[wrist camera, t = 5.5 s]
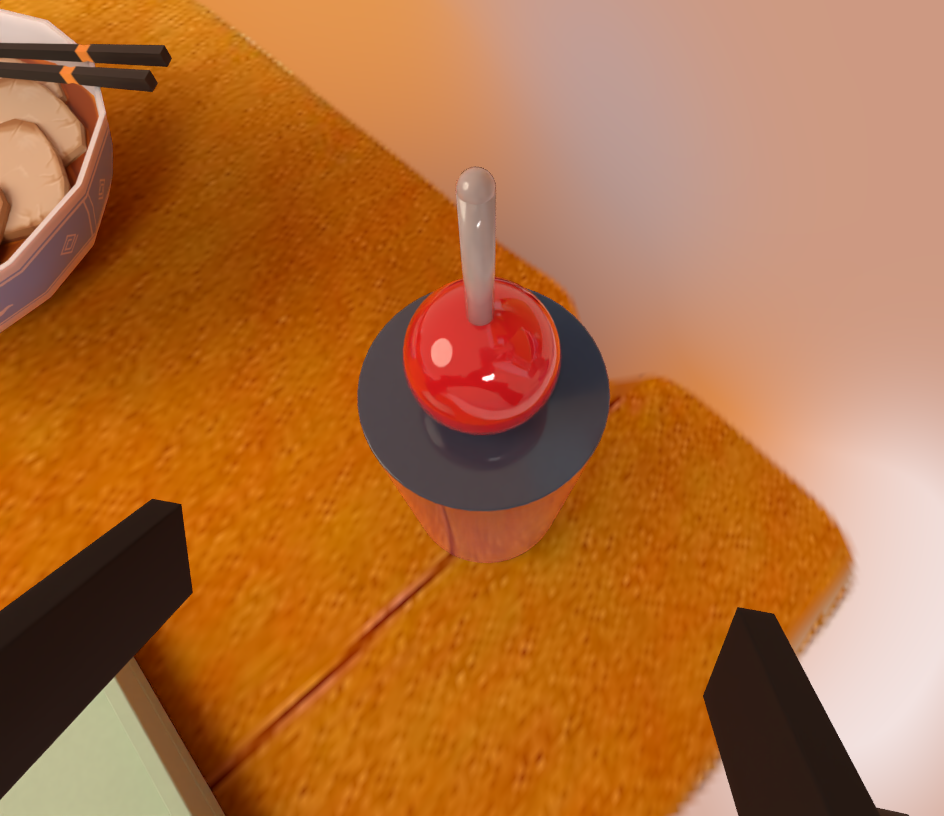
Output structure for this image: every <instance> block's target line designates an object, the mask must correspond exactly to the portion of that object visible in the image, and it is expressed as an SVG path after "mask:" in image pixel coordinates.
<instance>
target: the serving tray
mask: <svg viewBox="0 0 944 816" xmlns="http://www.w3.org/2000/svg"><path fill="white" fill-rule="evenodd" d="M0 816H225V814H224V812H223V811H222V809H221V807H220V805H219V804H218V802H217V800H216V799H215V797H214V795H213V793H212V792H211V790H210V788H209V786H208V785H207V783H206V781H205V779H204V778H203V776H202V774H201V773H200V771H199V769H198V767H197V766H196V764H195V762H194V760H193V759H192V757H191V755H190V754H189V752H188V750H187V748H186V747H185V745H184V743H183V741H182V740H181V738H180V736H179V734H178V733H177V731H176V729H175V728H174V726H173V724H172V722H171V721H170V719H169V717H168V715H167V714H166V712H165V710H164V709H163V707H162V705H161V703H160V702H159V700H158V698H157V696H156V695H155V693H154V691H153V689H152V688H151V686H150V684H149V683H148V681H147V679H146V677H145V676H144V674H143V672H142V670H141V669H140V667H139V665H138V663H137V662H136V660H135V658H134V657H132V659H131V660H130V661H129V662H128V663H127V664H126V665H125V666H124V667H123V668H122V669H121V670H120V671H119V673H118V674H117V675H116V676H115V677H114V678H113V679H112V680H111V681H110V682H109V683H108V684H107V686H106V687H105V688H104V689H103V690H102V691H101V692H100V693H99V694H98V695H97V696H96V697H95V698H94V700H93V701H92V702H91V703H90V704H89V705H88V706H87V707H86V708H85V709H84V710H83V711H82V712H81V714H80V715H79V716H78V717H77V718H76V719H75V720H74V721H73V722H72V723H71V724H70V725H69V726H68V728H67V729H66V730H65V731H64V732H63V733H62V734H61V735H60V736H59V737H58V738H57V739H56V740H55V742H54V743H53V744H52V745H51V746H50V747H49V748H48V749H47V750H46V751H45V752H44V753H43V754H42V756H41V757H40V758H39V759H38V760H37V761H36V762H35V763H34V764H33V765H32V766H31V767H30V768H29V770H28V771H27V772H26V773H25V774H24V775H23V776H22V777H21V778H20V779H19V780H18V781H17V782H16V784H15V785H14V786H13V787H12V788H11V789H10V790H9V791H8V792H7V793H6V794H5V795H4V796H3V798H2V799H1V800H0Z"/></svg>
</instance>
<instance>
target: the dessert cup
mask: <svg viewBox="0 0 944 816" xmlns="http://www.w3.org/2000/svg"><path fill="white" fill-rule="evenodd" d="M456 200H457V212H458V224H459V237H460V249H461V262H462V274H463V278H460V279H457V280H454V281H452V282H450V283H447V284H445V285H444V286H442V287H440V288H439V289H437V290H435V291H434V292H432V293H429V294H427V295H425V296H423V297H421V298H419V299H417V300H416V301H414V302H412V303H411V304H409V305H408V306H406V307H405V308H404V309H402V310H401V311H400V312H399V313H397V314H396V315H395V316H394V317H393V318H392V319H391V320H390V321H389V322H388V323H387V324H386V325H385V326H384V328H383V329H382V330H381V331H380V333H379V334H378V335H377V337H376V338H375V340H374V342H373V343H372V345H371V347H370V348H369V351H368V353H367V355H366V358H365V360H364V362H363V366H362V369H361V373H360V377H359V384H358V391H357V395H358V412H359V418H360V423H361V426H362V429H363V433H364V436H365V438H366V440H367V442H368V444H369V446H370V449H371V451H372V452H373V454H374V455H375V457H376V458H377V460H378V461H379V462H380V464H381V465H382V467H383V468H384V470H385V471H386V473H387V474H388V476H389V477H390V479H391V480H392V482H393V483H394V485H395V486H396V488H397V489H398V491H399V492H400V494H401V495H402V497H403V498H404V500H405V501H406V503H407V504H408V506H409V507H410V509H411V510H412V511H413V513H414V514H415V516H416V517H417V519H418V520H419V522H420V523H421V525H422V526H423V528H424V529H425V531H426V532H427V534H428V535H429V536H430V537H431V538H432V540H433V541H434V542H435V543H436V544H438V545H439V546H440V547H441V548H442V549H444V550H446V551H447V552H449V553H450V554H452V555H454V556H457V557H459V558H461V559H465V560H468V561H473V562H479V563H493V562H501V561H505V560H509V559H512V558H514V557H517V556H519V555H521V554H523V553H524V552H526V551H528V550H529V549H530V548H532V547H533V546H534V545H536V544H537V543H538V542H539V541H540V540H541V539H542V538H543V536H544V535H545V534H546V532H547V531H548V530H549V528H550V526H551V524H552V523H553V521H554V519H555V518H556V516H557V514H558V513H559V511H560V509H561V507H562V506H563V504H564V502H565V501H566V499H567V497H568V495H569V494H570V492H571V490H572V489H573V487H574V485H575V484H576V482H577V480H578V478H579V477H580V475H581V473H582V472H583V470H584V468H585V466H586V465H587V463H588V461H589V460H590V458H591V456H592V454H593V453H594V451H595V449H596V447H597V445H598V444H599V442H600V440H601V437H602V434H603V432H604V429H605V426H606V422H607V418H608V413H609V403H610V389H609V379H608V375H607V370H606V366H605V363H604V361H603V358H602V355H601V353H600V351H599V349H598V347H597V345H596V343H595V341H594V340H593V338H592V337H591V335H590V334H589V333H588V331H587V330H586V328H585V327H584V326H583V325H582V324H581V323H580V322H579V321H578V320H577V319H576V317H575V316H574V315H572V314H571V313H570V312H569V311H567V310H566V309H565V308H564V307H563V306H561V305H559V304H558V303H556V302H555V301H553V300H552V299H550V298H548V297H546V296H544V295H542V294H540V293H538V292H535V291H532V290H529V289H526V288H524V287H522V286H520V285H518V284H516V283H514V282H512V281H510V280H507V279H504V278H500V277H495V231H496V230H495V229H496V185H495V181H494V178H493V176H492V175H491V174H490V173H489V172H488V171H487V170H485V169H484V168H481V167H471V168H468V169H466V170H465V171H463V172H462V173H461V175H460V176H459V178H458V180H457V183H456Z"/></svg>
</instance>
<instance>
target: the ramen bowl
mask: <svg viewBox="0 0 944 816" xmlns="http://www.w3.org/2000/svg"><path fill="white" fill-rule="evenodd" d="M171 59H172V58H171V56H170V54H169V53H168V51H167V49H166V47H165V46H164V45H110V44H90V45H86V46H85V45H81V44H77V43H75V42H74V41H73V40H72V39H70V38H69V37H68V36H67V35H65V34H64V33H63V32H62V31H61V30H59V29H58V28H57V27H56V26H54V25H53V24H52V23H51V22H49V21H48V20H44V19H40V18H36V17H32V16H28V15H24V14H20V13H15V12H11V11H7V10H3V9H0V333H1V332H2V331H4V330H5V329H6V328H8V327H9V326H11V325H12V324H14V323H15V322H16V321H18V320H19V319H21V318H22V317H24V316H25V315H26V314H28V313H29V312H31V311H32V310H34V309H35V308H36V307H38V306H39V305H41V304H42V303H44V302H45V301H46V300H48V299H49V298H51V297H52V295H53V294H54V293H55V292H56V291H57V289H58V288H59V287H60V286H61V284H62V283H63V282H64V281H65V280H66V278H67V277H68V276H69V275H70V273H71V272H72V271H73V270H74V269H75V267H76V266H77V265H78V264H79V262H80V261H81V260H82V259H83V258H84V256H85V255H86V254H87V253H88V252H89V250H90V249H91V248H92V247H93V245H94V242H95V239H96V236H97V233H98V229H99V226H100V223H101V220H102V217H103V213H104V210H105V207H106V204H107V200H108V197H109V193H110V187H111V182H112V176H113V144H112V139H111V135H110V130H109V125H108V121H107V116H106V111H105V107H104V103H103V98H102V94H101V90H100V87H106V88H117V89H127V90H138V91H148V92H153V90H154V89H155V87H156V85H157V84H158V83H157V81H156V79H155V78H154V76H153V75H152V73H151V71H150V70H135V69H118V68H100V67H95V64H94V63H107V64H126V65H144V66H163V67H168V65H169V63H170V61H171Z"/></svg>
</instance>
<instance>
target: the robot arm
mask: <svg viewBox="0 0 944 816" xmlns="http://www.w3.org/2000/svg"><path fill="white" fill-rule="evenodd" d="M192 593H193V591H192V584H191V576H190V568H189V560H188V553H187V545H186V537H185V530H184V522H183V514H182V506H181V504H177V503H172V502H166V501H161V500H155V499H151V500H150V501H149V502H147V503H146V504H145V505H143V506H142V507H141V508H139V509H138V510H137V511H135V512H134V513H132V514H131V515H130V516H128V517H127V518H126V519H124V520H123V521H122V522H120V523H119V524H118V525H116V526H115V527H113V528H112V529H111V530H109V531H108V532H107V533H105V534H104V535H103V536H101V537H100V538H99V539H97V540H96V541H95V542H93V543H92V544H90V545H89V546H88V547H86V548H85V549H84V550H82V551H81V552H80V553H78V554H77V555H76V556H74V557H73V558H71V559H70V560H69V561H67V562H66V563H65V564H63V565H62V566H61V567H59V568H58V569H57V570H55V571H54V572H53V573H51V574H50V575H48V576H47V577H46V578H44V579H43V580H42V581H40V582H39V583H38V584H36V585H35V586H34V587H32V588H31V589H29V590H28V591H27V592H25V593H24V594H23V595H21V596H20V597H19V598H17V599H16V600H15V601H13V602H12V603H10V604H9V605H8V606H6V607H5V608H4V609H2V610H1V611H0V800H1V799H2V798H3V796H4V795H5V794H6V793H7V792H8V791H9V790H10V789H11V788H12V787H13V786H14V785H15V784H16V782H17V781H18V780H19V779H20V778H21V777H22V776H23V775H24V774H25V773H26V772H27V771H28V770H29V768H30V767H31V766H32V765H33V764H34V763H35V762H36V761H37V760H38V759H39V758H40V757H41V756H42V754H43V753H44V752H45V751H46V750H47V749H48V748H49V747H50V746H51V745H52V744H53V743H54V742H55V740H56V739H57V738H58V737H59V736H60V735H61V734H62V733H63V732H64V731H65V730H66V729H67V728H68V726H69V725H70V724H71V723H72V722H73V721H74V720H75V719H76V718H77V717H78V716H79V715H80V714H81V712H82V711H83V710H84V709H85V708H86V707H87V706H88V705H89V704H90V703H91V702H92V701H93V700H94V698H95V697H96V696H97V695H98V694H99V693H100V692H101V691H102V690H103V689H104V688H105V687H106V686H107V684H108V683H109V682H110V681H111V680H112V679H113V678H114V677H115V676H116V675H117V674H118V673H119V671H120V670H121V669H122V668H123V667H124V666H125V665H126V664H127V663H128V662H129V661H130V660H131V659H132V657H133V656H134V655H135V654H136V653H137V652H138V651H139V650H140V649H141V648H142V647H143V646H144V645H145V643H146V642H147V641H148V640H149V639H150V638H151V637H152V636H153V635H154V634H155V633H156V632H157V631H158V629H159V628H160V627H161V626H162V625H163V624H164V623H165V622H166V621H167V620H168V619H169V618H170V617H171V615H172V614H173V613H174V612H175V611H176V610H177V609H178V608H179V607H180V606H181V605H182V604H183V603H184V601H185V600H186V599H187V598H188V597H189V596H190V595H191V594H192ZM703 698H704V701H705V704H706V708H707V711H708V714H709V718H710V721H711V725H712V728H713V731H714V735H715V738H716V742H717V745H718V748H719V752H720V755H721V758H722V762H723V765H724V769H725V772H726V775H727V779H728V782H729V785H730V789H731V792H732V795H733V799H734V802H735V806H736V809H737V812H738V815H739V816H909V815H907V814H904V813H899V812H894V811H890V810H885V809H880V808H876V807H875V805H874V803H873V801H872V799H871V797H870V795H869V793H868V791H867V790H866V787H865V786H864V784H863V782H862V780H861V778H860V776H859V774H858V773H857V770H856V768H855V767H854V765H853V763H852V761H851V759H850V757H849V755H848V753H847V752H846V750H845V748H844V746H843V744H842V742H841V740H840V738H839V736H838V734H837V733H836V731H835V729H834V727H833V725H832V723H831V721H830V719H829V718H828V715H827V714H826V712H825V710H824V708H823V706H822V704H821V702H820V700H819V698H818V697H817V694H816V693H815V691H814V689H813V687H812V685H811V683H810V681H809V680H808V677H807V676H806V674H805V672H804V670H803V668H802V666H801V664H800V662H799V660H798V658H797V656H796V655H795V653H794V651H793V649H792V647H791V645H790V643H789V641H788V639H787V637H786V636H785V634H784V632H783V630H782V628H781V626H780V624H779V622H778V620H777V618H776V617H775V615H774V614H772V613H767V612H761V611H756V610H750V609H745V608H739V607H738V608H737V610H736V613H735V615H734V618H733V620H732V623H731V626H730V628H729V631H728V633H727V636H726V638H725V641H724V644H723V646H722V649H721V651H720V654H719V656H718V659H717V661H716V664H715V667H714V669H713V672H712V674H711V677H710V679H709V682H708V685H707V687H706V690H705V692H704V695H703Z"/></svg>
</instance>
